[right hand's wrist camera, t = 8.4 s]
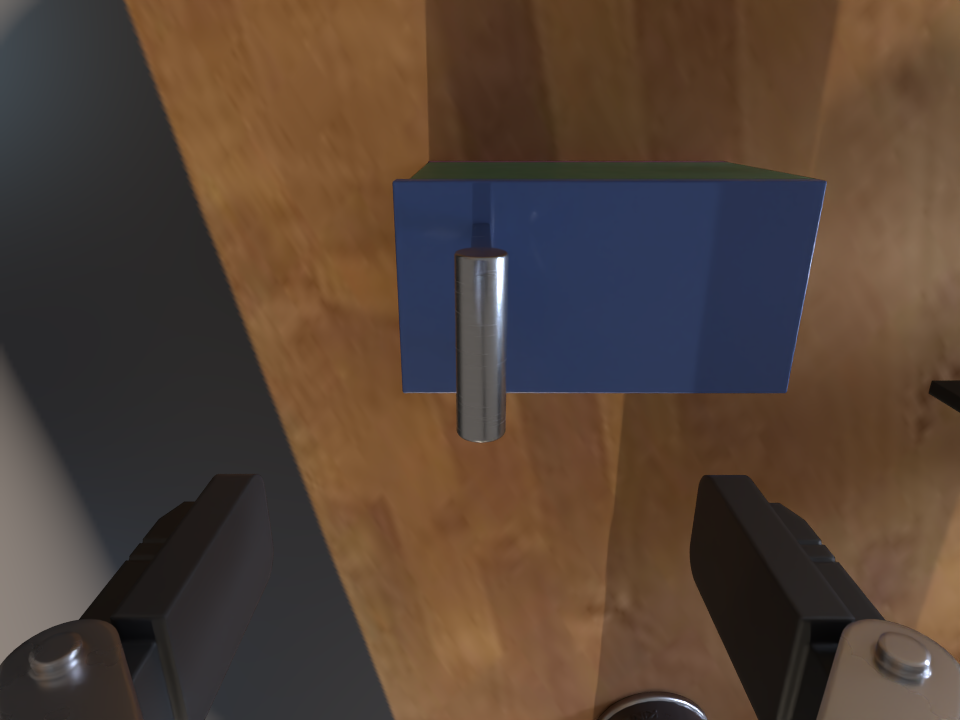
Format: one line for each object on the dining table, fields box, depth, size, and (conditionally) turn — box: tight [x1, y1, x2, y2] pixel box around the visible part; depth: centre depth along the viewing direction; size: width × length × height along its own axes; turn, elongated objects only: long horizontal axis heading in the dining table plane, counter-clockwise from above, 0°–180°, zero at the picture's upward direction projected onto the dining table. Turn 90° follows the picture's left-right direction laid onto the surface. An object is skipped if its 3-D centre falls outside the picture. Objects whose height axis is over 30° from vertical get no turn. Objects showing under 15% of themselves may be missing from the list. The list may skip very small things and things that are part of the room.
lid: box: [393, 179, 827, 442], centre depth 23 cm, size 17×9×8 cm, turn 90°
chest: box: [410, 161, 814, 179], centre depth 32 cm, size 16×9×10 cm, turn 90°
